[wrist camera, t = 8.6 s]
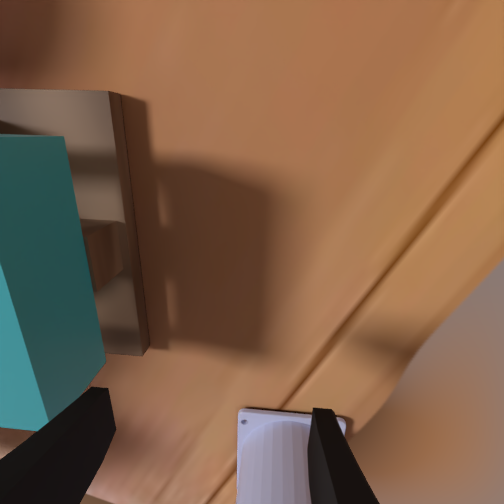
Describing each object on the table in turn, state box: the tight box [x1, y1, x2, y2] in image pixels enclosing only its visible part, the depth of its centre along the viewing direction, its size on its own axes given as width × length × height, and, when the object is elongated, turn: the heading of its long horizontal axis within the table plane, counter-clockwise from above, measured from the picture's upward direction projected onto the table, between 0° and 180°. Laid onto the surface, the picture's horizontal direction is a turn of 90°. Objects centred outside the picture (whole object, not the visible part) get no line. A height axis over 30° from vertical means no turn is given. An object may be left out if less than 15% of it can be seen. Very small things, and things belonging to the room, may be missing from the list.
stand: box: [0, 88, 150, 356], centre depth 16 cm, size 13×16×6 cm
